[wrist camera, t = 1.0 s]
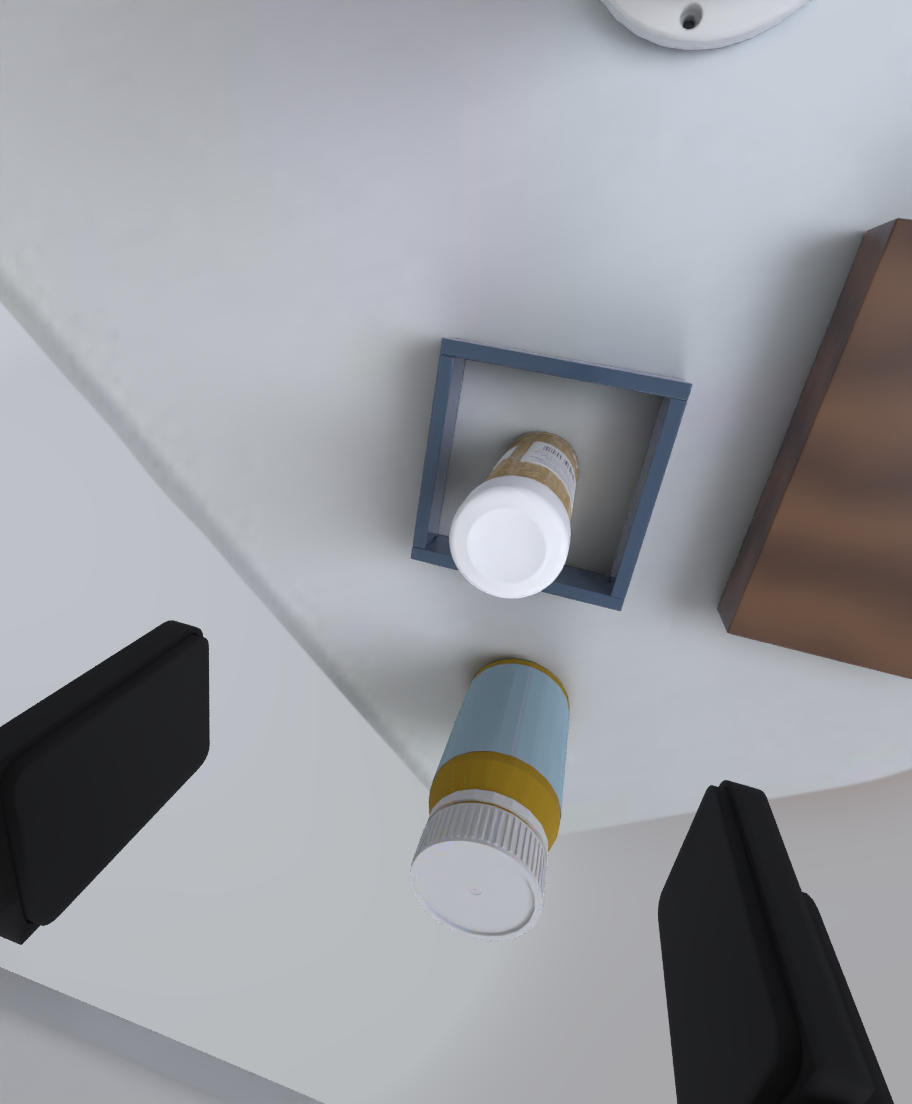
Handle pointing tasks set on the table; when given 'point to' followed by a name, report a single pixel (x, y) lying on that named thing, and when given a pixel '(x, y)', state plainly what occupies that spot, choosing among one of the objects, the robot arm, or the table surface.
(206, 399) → the table surface
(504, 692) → the bottle
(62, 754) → the robot arm
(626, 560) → the blue square frame
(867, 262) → the counter board
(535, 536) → the sprinkles bottle
